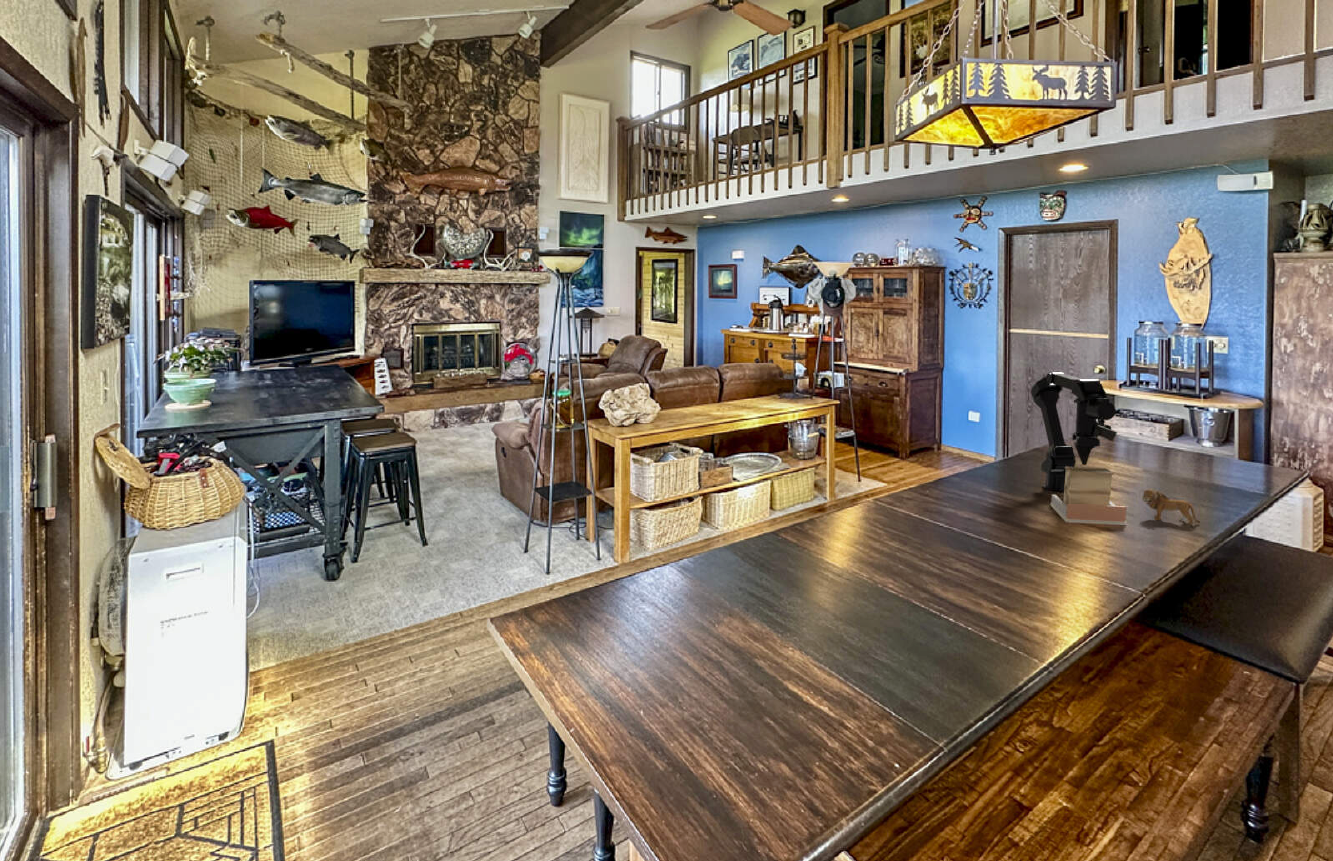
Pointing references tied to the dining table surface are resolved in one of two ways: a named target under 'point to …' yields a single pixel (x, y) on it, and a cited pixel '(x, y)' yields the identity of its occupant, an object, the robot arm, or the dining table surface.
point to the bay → (1090, 512)
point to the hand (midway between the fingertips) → (1084, 464)
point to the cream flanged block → (1087, 486)
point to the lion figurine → (1168, 505)
